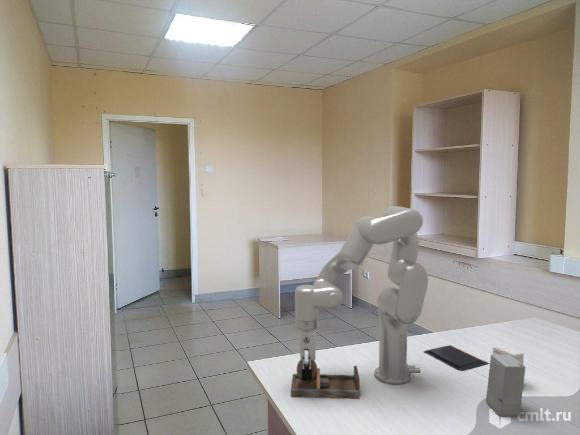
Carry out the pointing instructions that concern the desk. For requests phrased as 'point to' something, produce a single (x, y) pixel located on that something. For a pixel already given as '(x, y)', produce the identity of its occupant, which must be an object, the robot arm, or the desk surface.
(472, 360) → the wallet
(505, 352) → the ink box
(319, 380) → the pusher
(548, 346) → the desk surface
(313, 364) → the vase
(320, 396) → the tray
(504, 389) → the skincare box
